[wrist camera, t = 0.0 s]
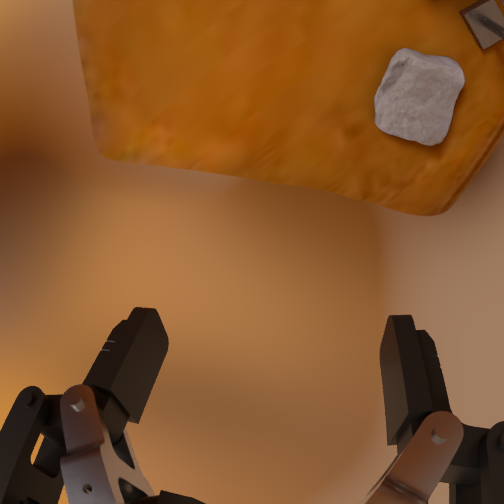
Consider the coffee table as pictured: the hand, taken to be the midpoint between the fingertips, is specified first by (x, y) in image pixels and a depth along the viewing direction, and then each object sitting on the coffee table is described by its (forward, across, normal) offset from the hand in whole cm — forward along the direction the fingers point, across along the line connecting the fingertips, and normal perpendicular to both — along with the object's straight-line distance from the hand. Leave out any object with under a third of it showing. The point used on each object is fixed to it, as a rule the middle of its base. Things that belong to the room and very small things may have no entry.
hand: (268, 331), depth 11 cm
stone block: (+32, -14, -5) cm, 36 cm away
